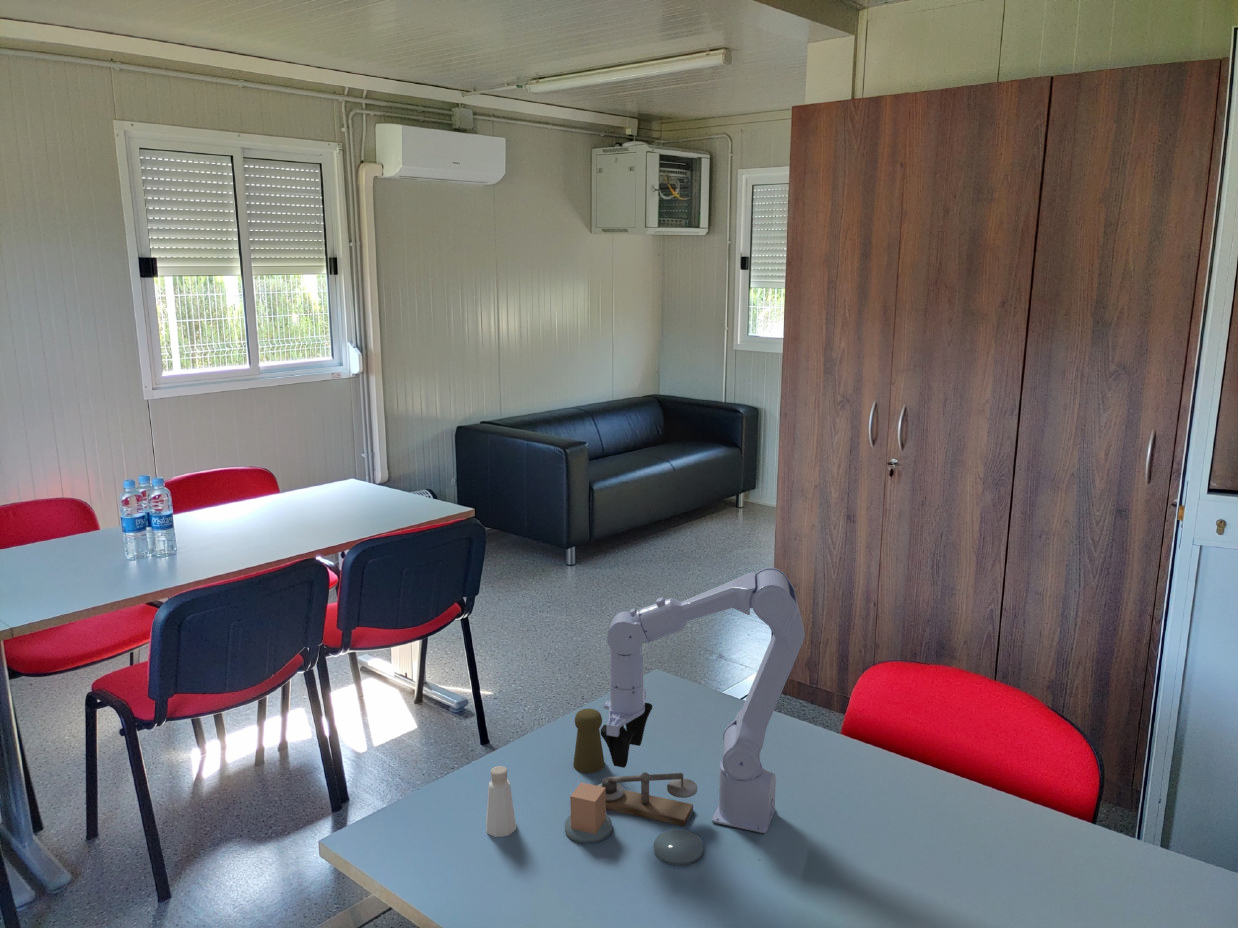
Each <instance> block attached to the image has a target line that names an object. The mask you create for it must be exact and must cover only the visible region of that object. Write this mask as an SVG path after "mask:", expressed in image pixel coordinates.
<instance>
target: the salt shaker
mask: <svg viewBox="0 0 1238 928" xmlns="http://www.w3.org/2000/svg"><path fill="white" fill-rule="evenodd" d="M490 775H491V776H490V778H491V781H489V782H488V790H487V791H488V792H487V803H486V804H487V807H486V819H485V821H486V822H485V829H486V833H487V835H490V836H492V837H494V838H500V837H502V838H503V837H508V836H510V835H511V834H513V833H514V832H516V830H517V824H516V817H515V808H514V803H513V796H512V789H511V782H510V779H508V768H507V767H506V766H504V765H498V766H494V767H493V768H491V770H490Z"/></svg>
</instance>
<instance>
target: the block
mask: <svg viewBox="0 0 1238 928" xmlns="http://www.w3.org/2000/svg"><path fill="white" fill-rule="evenodd" d="M569 797H570V798H569V799H570V801H569V802H570V803H569V805H570V815H571V829H576V830H580V831H584V832H588V833H593V834H596V833H597V831H598V830H599V829H600V827H601V826H602V824H603V823H604V821H605V820H606V815H607V814H606V813H607V809H606V788H605V787H600V786H598V785H595V784H590V783H586V782H580V783H579V784H578V786H577V787H576V788H575V789H574V791H573V792H572V793H571V794H570V796H569Z"/></svg>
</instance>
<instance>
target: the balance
mask: <svg viewBox="0 0 1238 928" xmlns="http://www.w3.org/2000/svg"><path fill="white" fill-rule="evenodd" d="M652 781H669V782H668V783H667V785H666V791H667V793H668V794H669V795H671V796H673V797H676V798H682V799H683V798H685V799H686V798H690V797H693V796H695V795H696V794H697V792H698V785H697V783H696V782H695V781H693V780H691V779H689V778H684V773H683V772H675V773H674V772H673V773H657V774H649V773H648V772H642V773H641V774H640V775H639V774H637V775H622V776H621V775H617V776H606V777H604V778H603V779H602V780H601V783H599V784H597V786H600V787H605V788H606V810H608V811H613V812H617V813H623V814H627V815H632V816H637V817H639V818H640V817H641V818H643V819H644V818H645V819H650V820H655V821H660V822H663V823H668V824H672V825H677V826H682V827H685V826H686V824H687V822H688V821H689V819H690V817H691V816H692V814H693V811H694V804H693V803H689V802H685V801H679V800H676V799H675V800H673V799H669V798H665V797H661V796H656V795H650V782H652ZM632 782H640V792H638V791H637V792H636V791H631V790H627V789H625V788H624V786H623V785H622V784H621V783H632Z"/></svg>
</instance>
